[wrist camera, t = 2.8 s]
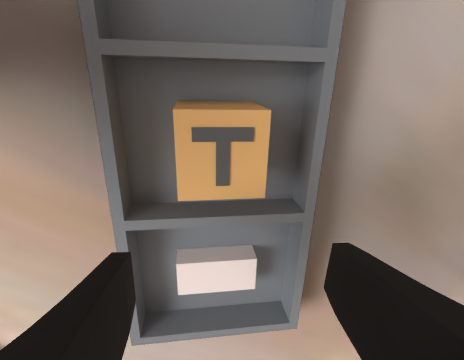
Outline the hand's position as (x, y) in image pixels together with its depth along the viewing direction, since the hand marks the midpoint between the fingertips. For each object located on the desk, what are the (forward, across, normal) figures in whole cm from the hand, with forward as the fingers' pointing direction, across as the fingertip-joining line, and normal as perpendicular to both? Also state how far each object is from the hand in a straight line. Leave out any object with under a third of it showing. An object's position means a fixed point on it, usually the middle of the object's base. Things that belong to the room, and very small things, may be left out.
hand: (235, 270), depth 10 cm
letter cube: (+7, 0, -3) cm, 8 cm away
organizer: (+8, 0, -3) cm, 8 cm away
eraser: (+7, 0, +5) cm, 9 cm away
